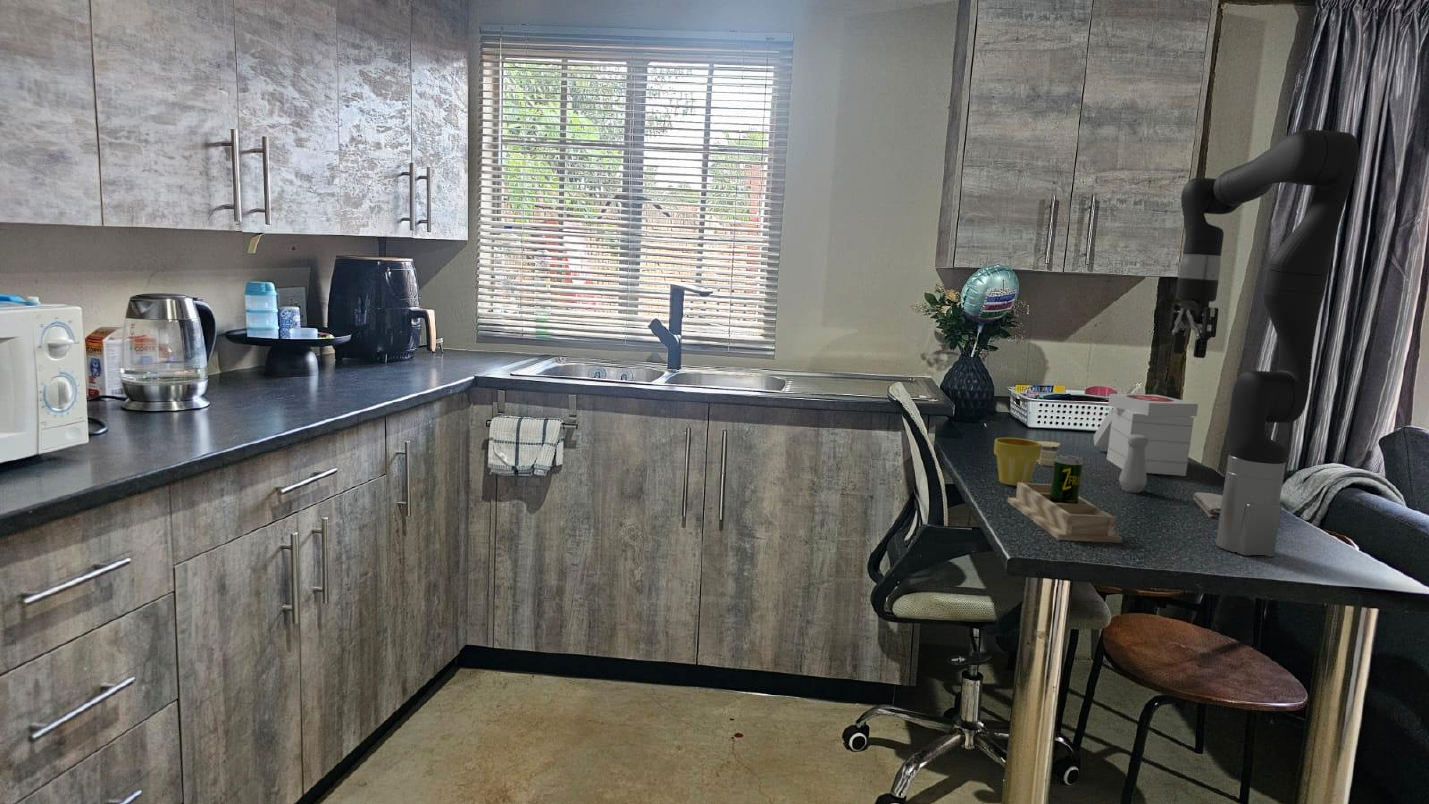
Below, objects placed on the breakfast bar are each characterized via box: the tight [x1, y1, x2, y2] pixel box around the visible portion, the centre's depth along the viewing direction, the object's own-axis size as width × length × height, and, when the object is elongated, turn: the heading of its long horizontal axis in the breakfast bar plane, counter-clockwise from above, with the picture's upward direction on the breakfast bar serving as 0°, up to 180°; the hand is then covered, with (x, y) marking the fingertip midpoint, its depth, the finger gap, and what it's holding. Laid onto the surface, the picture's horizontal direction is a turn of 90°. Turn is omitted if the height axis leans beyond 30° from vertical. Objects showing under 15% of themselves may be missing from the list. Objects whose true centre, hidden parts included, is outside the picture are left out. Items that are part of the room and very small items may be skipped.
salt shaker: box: [1118, 434, 1148, 494], centre depth 224 cm, size 6×6×13 cm
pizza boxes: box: [1093, 393, 1199, 477], centre depth 258 cm, size 19×30×18 cm, turn 176°
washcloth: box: [1192, 491, 1223, 520], centre depth 210 cm, size 12×18×3 cm, turn 166°
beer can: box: [1049, 453, 1084, 504], centre depth 192 cm, size 5×5×12 cm
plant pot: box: [993, 437, 1042, 487], centre depth 224 cm, size 10×10×10 cm
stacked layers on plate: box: [1036, 440, 1061, 467], centre depth 250 cm, size 10×9×6 cm
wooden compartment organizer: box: [1007, 482, 1123, 544], centre depth 193 cm, size 27×12×4 cm, turn 3°
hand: (1187, 355), depth 204 cm, fingers open, 8 cm apart
